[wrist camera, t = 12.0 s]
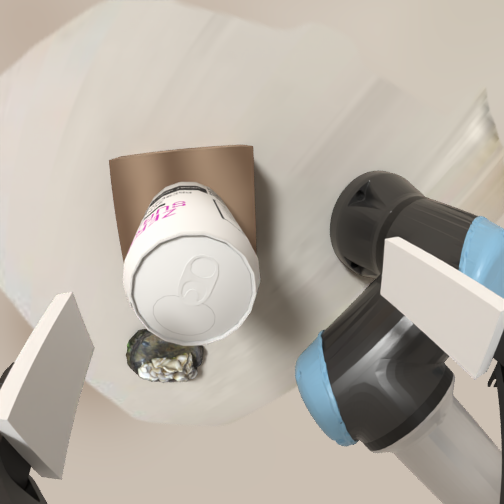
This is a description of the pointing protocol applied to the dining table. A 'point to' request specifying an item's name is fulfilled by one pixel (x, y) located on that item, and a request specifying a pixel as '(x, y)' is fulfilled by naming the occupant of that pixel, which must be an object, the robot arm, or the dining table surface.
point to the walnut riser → (183, 170)
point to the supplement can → (190, 267)
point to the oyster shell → (162, 358)
